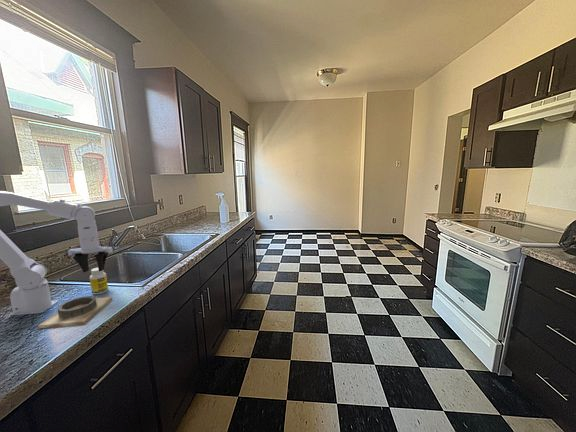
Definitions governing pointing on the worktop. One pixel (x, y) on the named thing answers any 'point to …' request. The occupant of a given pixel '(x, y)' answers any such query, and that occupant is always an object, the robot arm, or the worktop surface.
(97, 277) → the supplement bottle
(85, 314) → the socket plate
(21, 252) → the robot arm
